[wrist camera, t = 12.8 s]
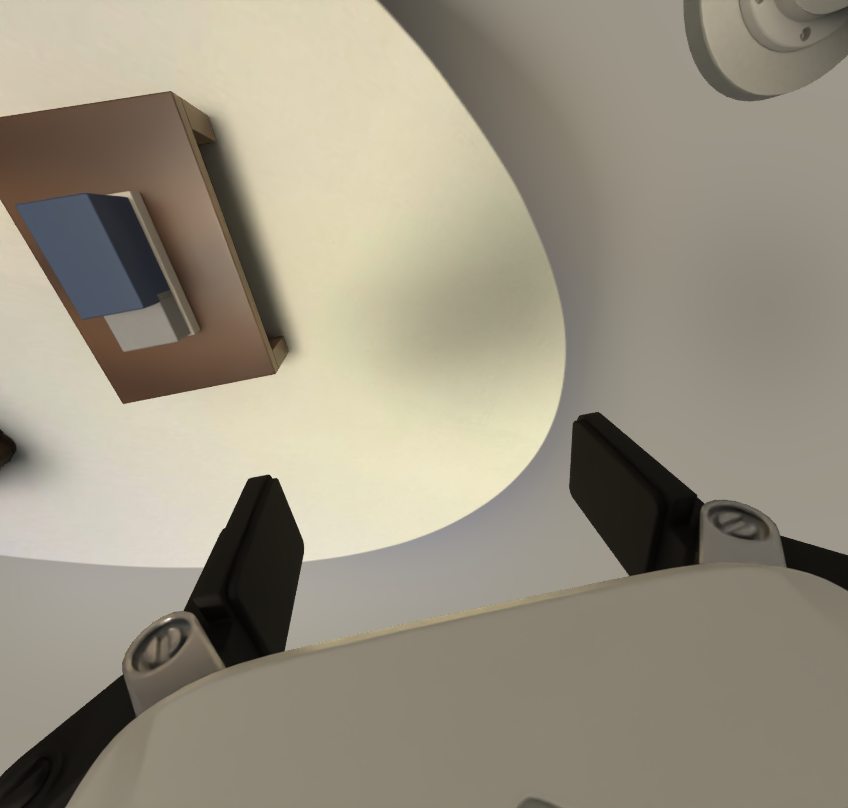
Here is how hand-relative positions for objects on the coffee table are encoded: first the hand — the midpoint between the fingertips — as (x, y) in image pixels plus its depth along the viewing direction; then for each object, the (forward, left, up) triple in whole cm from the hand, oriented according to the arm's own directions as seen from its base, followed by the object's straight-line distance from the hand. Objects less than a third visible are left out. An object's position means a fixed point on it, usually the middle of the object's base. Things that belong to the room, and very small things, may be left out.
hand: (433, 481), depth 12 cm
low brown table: (-7, -16, -25) cm, 31 cm away
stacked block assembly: (-7, -16, -20) cm, 26 cm away
